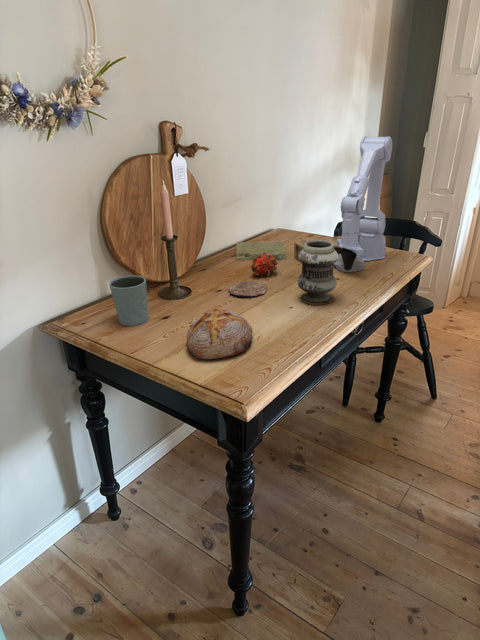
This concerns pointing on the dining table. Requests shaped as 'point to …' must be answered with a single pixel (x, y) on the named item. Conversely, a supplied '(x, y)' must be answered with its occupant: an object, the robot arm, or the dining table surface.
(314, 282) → the apothecary jar
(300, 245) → the oak shelf
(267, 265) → the dragon fruit
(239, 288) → the shell
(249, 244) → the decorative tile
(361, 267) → the stone block
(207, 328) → the bread
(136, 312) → the teal cup
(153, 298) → the dining table surface
